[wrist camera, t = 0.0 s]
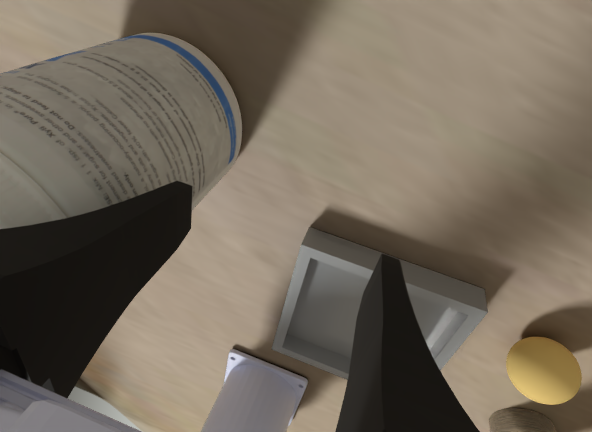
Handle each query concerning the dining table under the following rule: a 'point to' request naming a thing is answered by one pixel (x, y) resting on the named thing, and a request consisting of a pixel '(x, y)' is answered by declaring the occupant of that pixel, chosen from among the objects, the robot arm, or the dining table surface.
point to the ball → (543, 370)
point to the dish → (347, 297)
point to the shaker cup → (520, 421)
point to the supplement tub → (112, 128)
